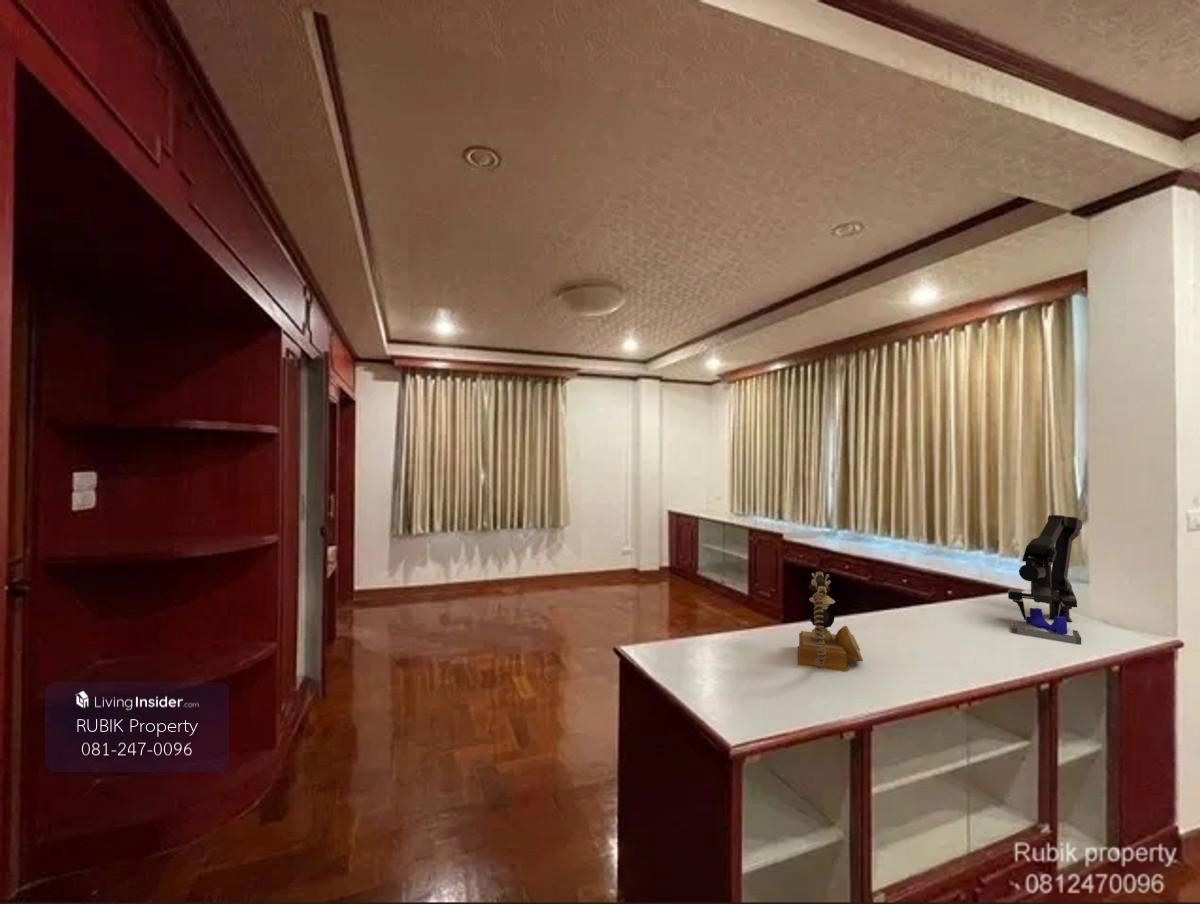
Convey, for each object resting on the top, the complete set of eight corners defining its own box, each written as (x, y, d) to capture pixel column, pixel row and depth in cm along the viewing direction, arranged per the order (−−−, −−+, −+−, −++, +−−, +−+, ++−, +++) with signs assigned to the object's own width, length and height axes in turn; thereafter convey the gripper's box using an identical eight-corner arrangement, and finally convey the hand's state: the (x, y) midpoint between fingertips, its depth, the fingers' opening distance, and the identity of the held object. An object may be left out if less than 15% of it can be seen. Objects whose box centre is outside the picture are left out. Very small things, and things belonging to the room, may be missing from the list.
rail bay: (1011, 627, 188) (1011, 621, 188) (1077, 637, 178) (1077, 630, 178) (1012, 634, 181) (1012, 627, 181) (1081, 644, 171) (1081, 637, 171)
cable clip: (1026, 624, 193) (1025, 608, 193) (1038, 624, 192) (1038, 608, 193) (1053, 635, 181) (1053, 617, 181) (1067, 635, 180) (1066, 617, 181)
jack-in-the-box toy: (872, 698, 132) (871, 597, 133) (796, 687, 139) (796, 591, 139) (858, 650, 165) (857, 570, 166) (797, 643, 172) (797, 566, 172)
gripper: (1008, 578, 189) (1009, 622, 189) (1079, 586, 178) (1079, 633, 177) (1007, 573, 198) (1008, 615, 198) (1074, 580, 187) (1075, 624, 186)
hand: (1041, 622), depth 190 cm, fingers open, 9 cm apart
